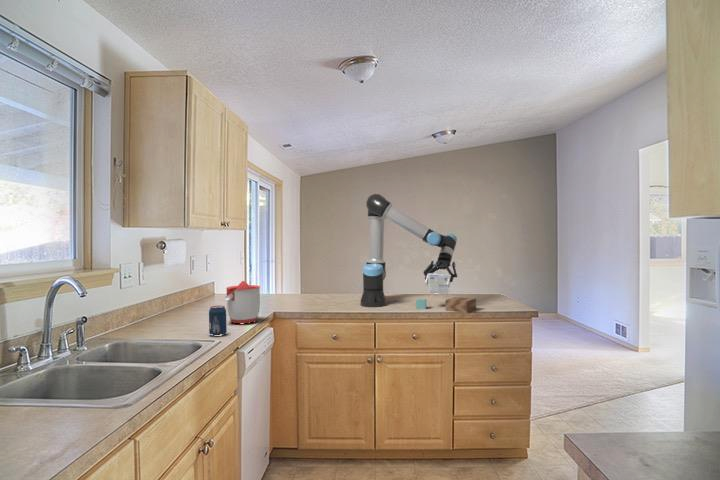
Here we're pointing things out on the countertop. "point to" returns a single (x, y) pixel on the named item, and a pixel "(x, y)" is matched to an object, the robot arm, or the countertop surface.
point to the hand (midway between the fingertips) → (436, 285)
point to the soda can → (217, 320)
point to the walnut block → (461, 304)
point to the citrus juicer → (243, 302)
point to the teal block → (421, 304)
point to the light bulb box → (437, 283)
